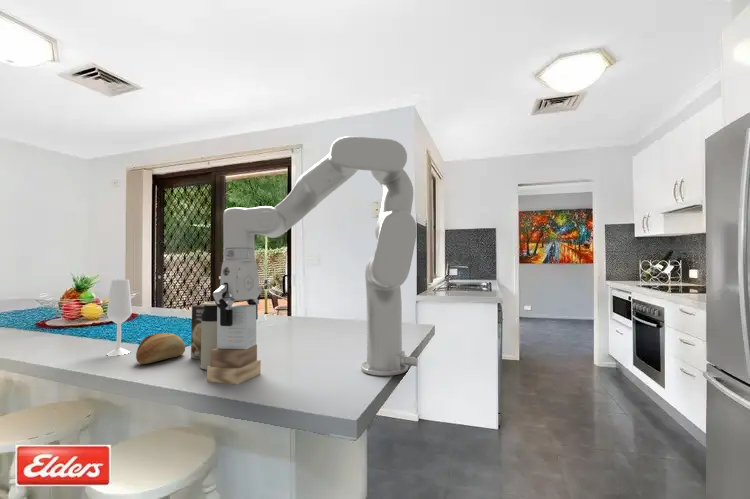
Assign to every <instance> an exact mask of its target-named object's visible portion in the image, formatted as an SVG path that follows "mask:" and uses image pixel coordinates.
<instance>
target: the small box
mask: <svg viewBox="0 0 750 499" xmlns="http://www.w3.org/2000/svg"><path fill="white" fill-rule="evenodd" d="M230 309H232V311H233V325H232V326H221V325H220V310H219V309H218V307H217V349H248V348H250V347H252V346H254V345H256V344H257V320H256V305H249V304H232V306H231V308H230Z"/></svg>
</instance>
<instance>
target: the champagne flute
mask: <svg viewBox="0 0 750 499" xmlns="http://www.w3.org/2000/svg"><path fill="white" fill-rule="evenodd" d="M130 285H131V283H130V279H111V282H110V289H109V296H108V304H107V310H106V316H107V318H108V319H109V320H110V321H112V322H113V323H114V324H116V346H115V347H116V348H114V349H113V350H110V352H108V353H106V354H107V355H108V356H107V357H118V356H117V355H120V356H125V355H124V354H126V355H128V353H129V354H131V353H130V352H131V351H130V350H128V349H125V348H122V324H123V323H125V322H126V321H127V320H128V319H129V318H130V317H131V316H132V314H133V310H132V309H133V308H132V296H131V286H130Z"/></svg>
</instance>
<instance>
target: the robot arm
mask: <svg viewBox="0 0 750 499" xmlns="http://www.w3.org/2000/svg"><path fill="white" fill-rule="evenodd" d="M329 150H330V151H329V153H328V154H327V155H326V156H324V157H323V158H322V159H321V160H319V161H318V162H317V163H315V164H314V165H313V166H311V167H310V168H309V169H308V170H307V171H305V172H304V173H303V174H301V175H300V176H299V177H298V179H297V180H296V182H295V185H294V186H293V188H292V190H291V191H290V192H289V193H288V195H286V197H285V198H284V199H283V200H282V201H281V202H279V203H278V204H276V205H275V206H274V207H273V206H270V205H269V206H268V205H264V206H256V207H249V208H247V207H229V208H226V209H225V210H224V212H223V217H222V219H223V220H222V221H223V252H222V255H223V261H222V265H221V271H220V281H219V287H218V288H217V289H216V290H215V291H213V293H212V296H213V299H214V301H215V303H216V305H217V306H218V309H219V310H220V325H221V326H232V325H233V311H232V309H230V308H231V306H232V305H234V302H235V301H237V302H242V301H246V303H247V305H256V321H257V320H258V307H259V306H258V305H259V304H260V299H261V297H262V296H261V294H262V291H263V288H262V286H260V278H259V269H258V265H257V261H256V260H255V259H256V256H255V255H256V254H255V253H256V252H255V251H256V250H255V249H256V248H255V235H261V236H265V237H267V238H271V239H274V238H279V237H280V236H282V235H284V234H285V233H286V232H287V231H289V230H290V229H291V228H293V227H294V226H295V225H296V224H297V223H298V222H300V221H301V220H303V218H304V217H305V216H307V215H308V214H309V213H310V212H311V211H312V210H314V209H315V208H316V207H317V206H318V205H319V204H320V203H321V202H322V201H323V200H325V199H326V198H327V197H328V196H330V195H331V194H332V193H333V192H334V191H336V190H337V189H338V188H339V187H340V186H342V185H343V184H344V183H346V182H347V181H348V180H349V179H351V178H352V177H353V176H354V175H355V174H356V173H357V172H358V171H369V172H371V175H372V177H373V178H374V179H376V181H377V182H378V183H379V184H380V186H381V189H382V199H381V206H380V210H379V214H378V219H377V222H376V226H375V231H374V232H375V233H374V234H375V238H376V240H377V241H376V246H375V250H374V255H372V256H371V257H370V258H369V259H368V261H367V263H366V265H365V271H364V272H365V273H364V274H365V276H364V277H365V289H366V290H365V291H366V292H365V293H366V294H365V295H366V361H364V362H362V363H361V365H360V369H361V372H363V373H365V374H367V375H368V374H369V375H372V376H381V377H384V376H385V377H387V376H397V375H402V374H404V373H406V372H407V371H408V370H409V369H408V368H409V366H410V367H411V366H412V367H417V366H418V365H419V364H418V363H419V360H418V358H416V356H407V355H406V352H405V350H403V335H402V333H403V331H402V328H403V327H402V324H403V323H402V322H403V321H402V318H403V317H402V316H403V315H402V314H403V313H402V309H403V308H402V305H403V304H402V291H401V286H402V285H403V284H404V283H405V282H406V280H407V279H408V277H409V274H410V270H411V266H412V261H413V255H414V251H415V246H416V240H417V233H418V228H417V222H416V220H415V218H414V217H413V216H412V209H413V201H414V186H413V183H412V181H411V179H410V177H409V174H408V173H407V172H406V170H405V169H404V168H405V166H406V164H407V162H408V153H407V150H406V148H405V147H404V145H403V144H401V143H400V142H398V141H397V140H394V139H390V138H380V137H379V138H376V137H367V136H365V137H364V136H349V135H348V136H343V137H339V138H337V139H335V140H334V141H333V142H332V144H331V147H330V148H329ZM226 302H228V303H226Z"/></svg>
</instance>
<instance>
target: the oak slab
mask: <svg viewBox="0 0 750 499" xmlns="http://www.w3.org/2000/svg"><path fill="white" fill-rule="evenodd" d="M261 361H262V360H261V359H257V360H255V361H253V362H251V363H249V364H247V365H245V366H243V367H241V368H229V367H211V366H208V367H207V370H206V381H207V382H212V383H221V384H230V385H236V386H238V385H240V384H242V383H244V382H247V381H248V380H250V379H252V378H254V377H257V376H259V375H261V374H262V373H261V366H262V365H261V364H262V363H261ZM247 379H248V380H247Z"/></svg>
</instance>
